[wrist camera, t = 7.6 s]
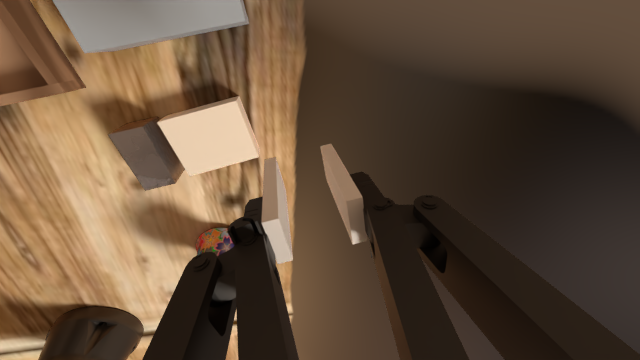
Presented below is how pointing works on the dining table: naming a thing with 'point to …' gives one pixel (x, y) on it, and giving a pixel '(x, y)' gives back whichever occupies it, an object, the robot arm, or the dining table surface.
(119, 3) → the dowel block
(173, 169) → the block
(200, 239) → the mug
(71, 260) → the dining table surface
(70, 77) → the tray
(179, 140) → the cream rectangular block
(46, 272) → the dining table surface
